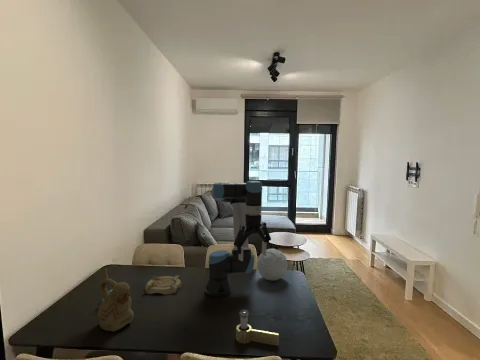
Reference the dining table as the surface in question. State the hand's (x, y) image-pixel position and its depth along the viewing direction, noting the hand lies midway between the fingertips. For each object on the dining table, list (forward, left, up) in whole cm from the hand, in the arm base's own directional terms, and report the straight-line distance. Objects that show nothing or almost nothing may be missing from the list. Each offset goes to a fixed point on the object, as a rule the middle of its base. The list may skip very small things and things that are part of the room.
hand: (252, 257), depth 144 cm
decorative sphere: (-8, +51, -32) cm, 60 cm away
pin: (+3, -15, -31) cm, 35 cm away
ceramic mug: (-75, -18, -32) cm, 83 cm away
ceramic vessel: (-56, -32, -32) cm, 72 cm away
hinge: (+8, -10, -31) cm, 34 cm away
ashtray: (-62, +10, -32) cm, 70 cm away
